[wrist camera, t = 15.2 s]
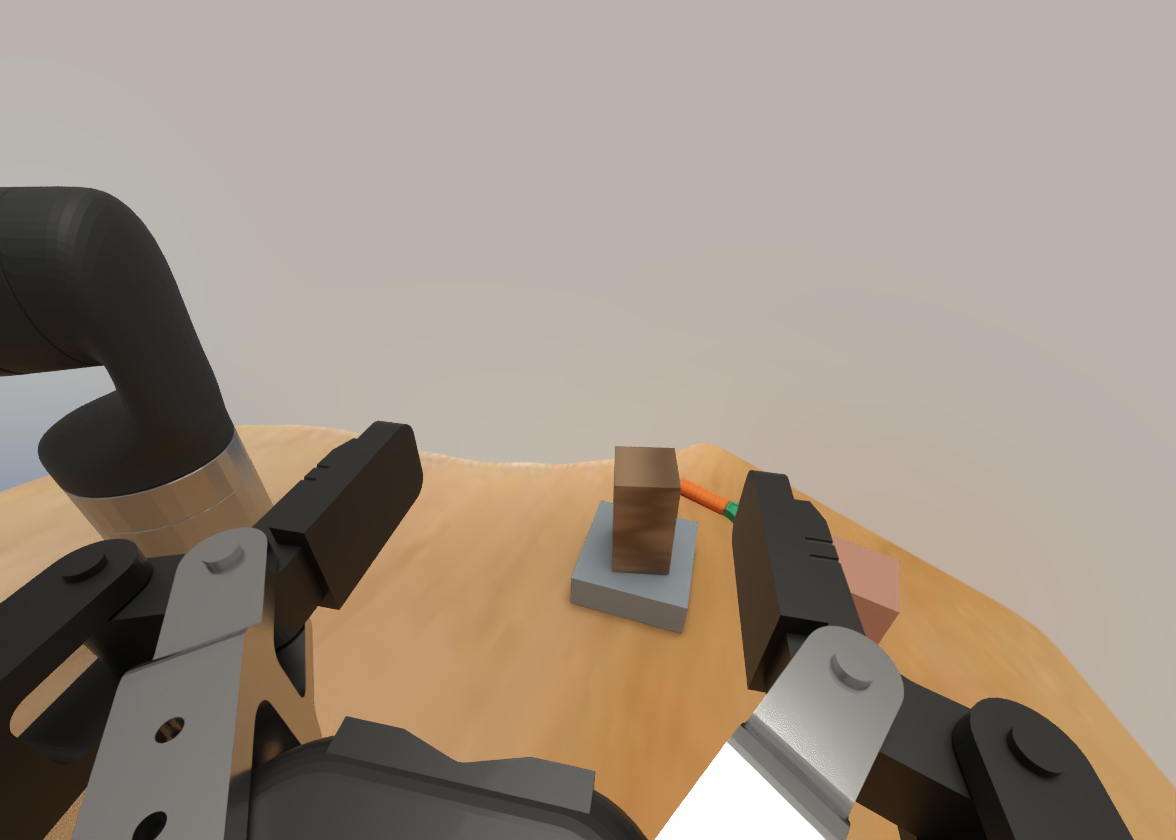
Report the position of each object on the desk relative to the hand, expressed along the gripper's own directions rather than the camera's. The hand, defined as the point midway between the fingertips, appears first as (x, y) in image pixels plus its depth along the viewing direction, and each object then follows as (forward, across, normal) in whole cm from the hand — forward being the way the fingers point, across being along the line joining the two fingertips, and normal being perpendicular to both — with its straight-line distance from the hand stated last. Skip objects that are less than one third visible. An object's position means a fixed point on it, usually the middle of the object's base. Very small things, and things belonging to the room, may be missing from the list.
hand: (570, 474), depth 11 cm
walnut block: (+21, -2, +26) cm, 34 cm away
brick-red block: (+17, -18, +30) cm, 39 cm away
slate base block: (+21, -2, +30) cm, 37 cm away
